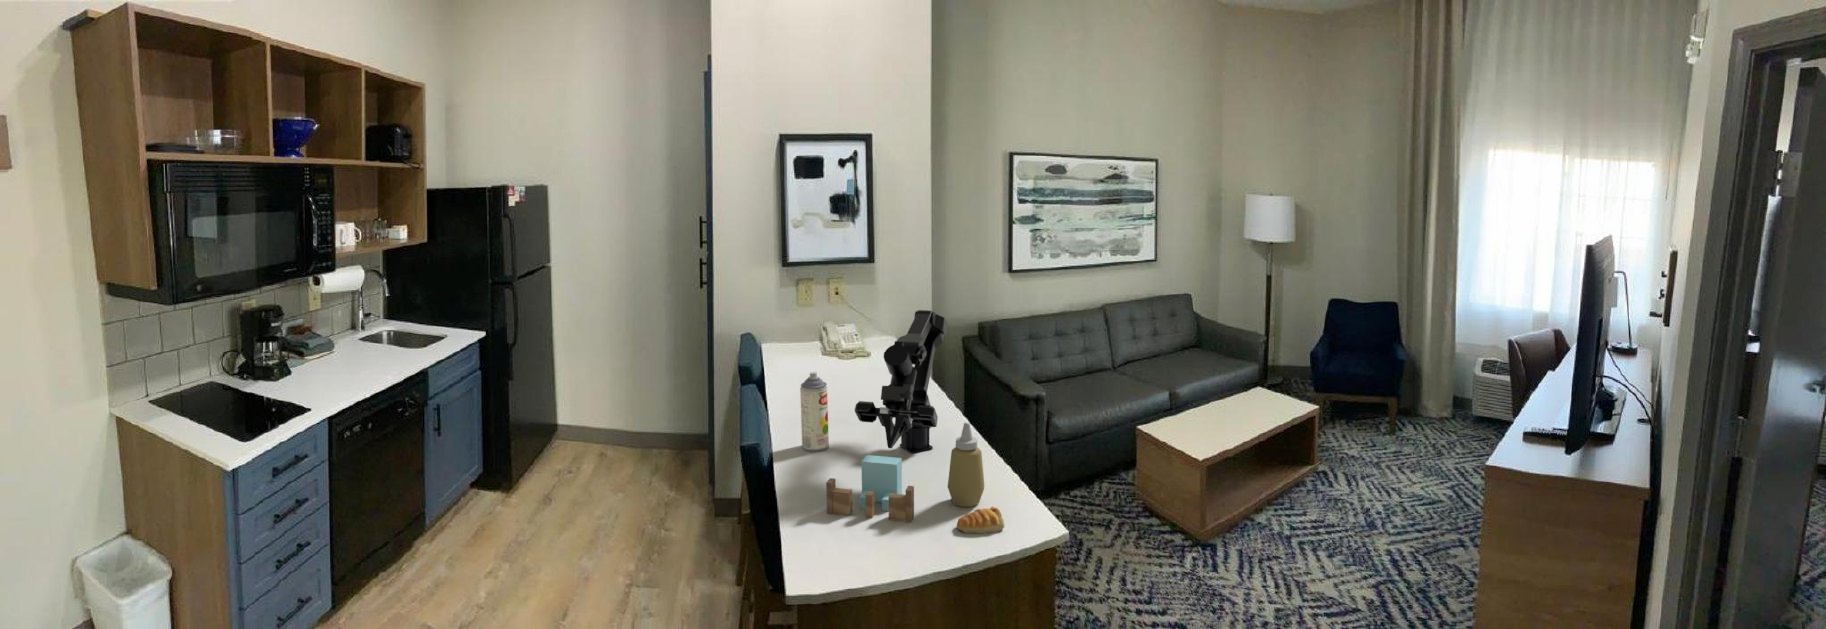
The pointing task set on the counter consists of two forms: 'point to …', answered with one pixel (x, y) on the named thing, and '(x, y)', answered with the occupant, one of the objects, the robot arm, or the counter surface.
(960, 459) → the squeeze bottle
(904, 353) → the robot arm
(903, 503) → the rail
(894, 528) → the counter surface
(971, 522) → the pastry
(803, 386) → the aerosol can
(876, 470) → the pale blue brick
